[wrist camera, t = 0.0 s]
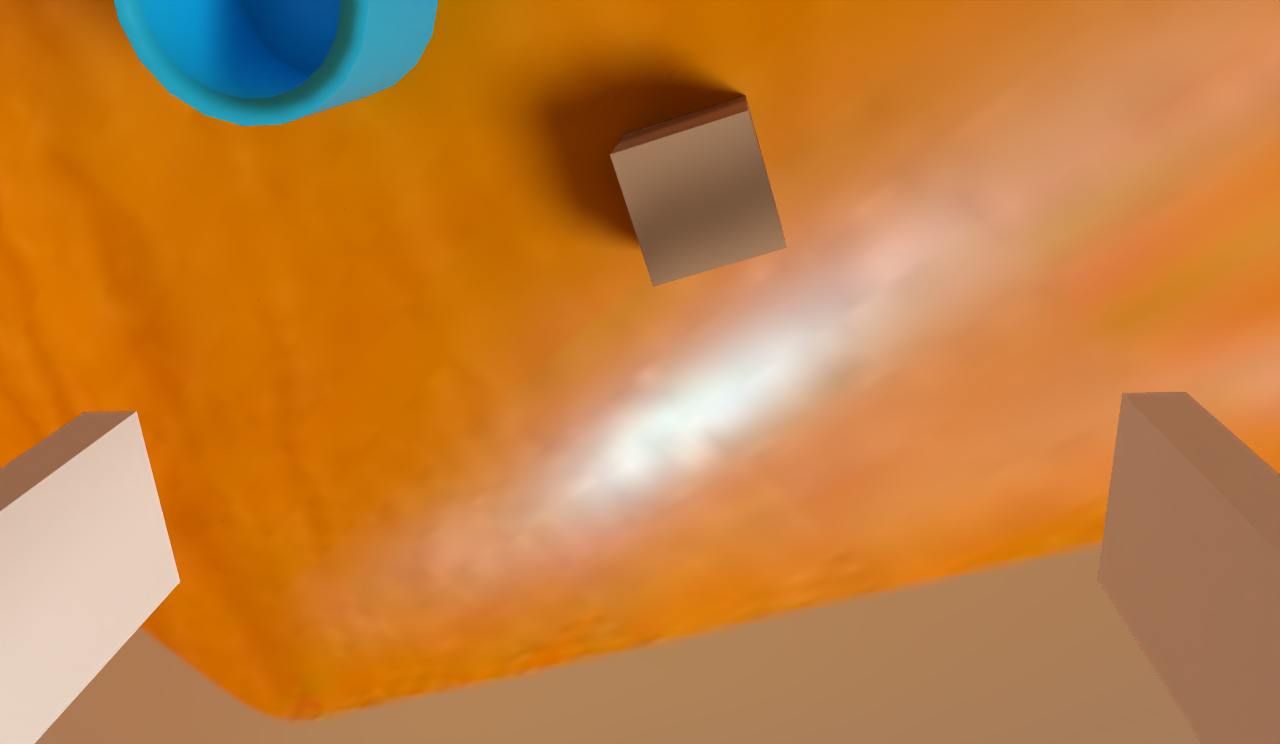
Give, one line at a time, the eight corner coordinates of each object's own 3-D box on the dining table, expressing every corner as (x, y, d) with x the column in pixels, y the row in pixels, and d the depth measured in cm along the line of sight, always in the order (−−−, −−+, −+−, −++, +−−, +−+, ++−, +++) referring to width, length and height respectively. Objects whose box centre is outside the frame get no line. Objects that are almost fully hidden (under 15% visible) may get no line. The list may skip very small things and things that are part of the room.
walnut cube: (623, 134, 39) (609, 154, 35) (745, 94, 38) (748, 110, 34) (661, 251, 41) (653, 286, 36) (779, 216, 40) (786, 247, 35)
